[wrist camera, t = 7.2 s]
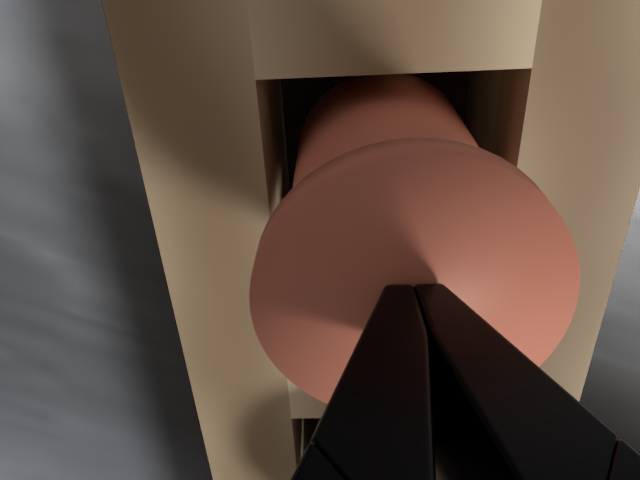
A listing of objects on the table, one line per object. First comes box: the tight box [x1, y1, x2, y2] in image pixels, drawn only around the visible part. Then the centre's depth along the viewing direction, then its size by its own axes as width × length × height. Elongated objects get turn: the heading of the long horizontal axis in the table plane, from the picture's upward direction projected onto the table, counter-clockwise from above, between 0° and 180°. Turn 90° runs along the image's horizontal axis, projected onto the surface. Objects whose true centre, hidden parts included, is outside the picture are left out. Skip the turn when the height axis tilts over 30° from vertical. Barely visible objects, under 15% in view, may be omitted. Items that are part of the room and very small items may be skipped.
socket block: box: [102, 0, 640, 480], centre depth 18 cm, size 10×26×4 cm, turn 3°
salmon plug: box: [249, 74, 580, 404], centre depth 11 cm, size 5×5×6 cm
